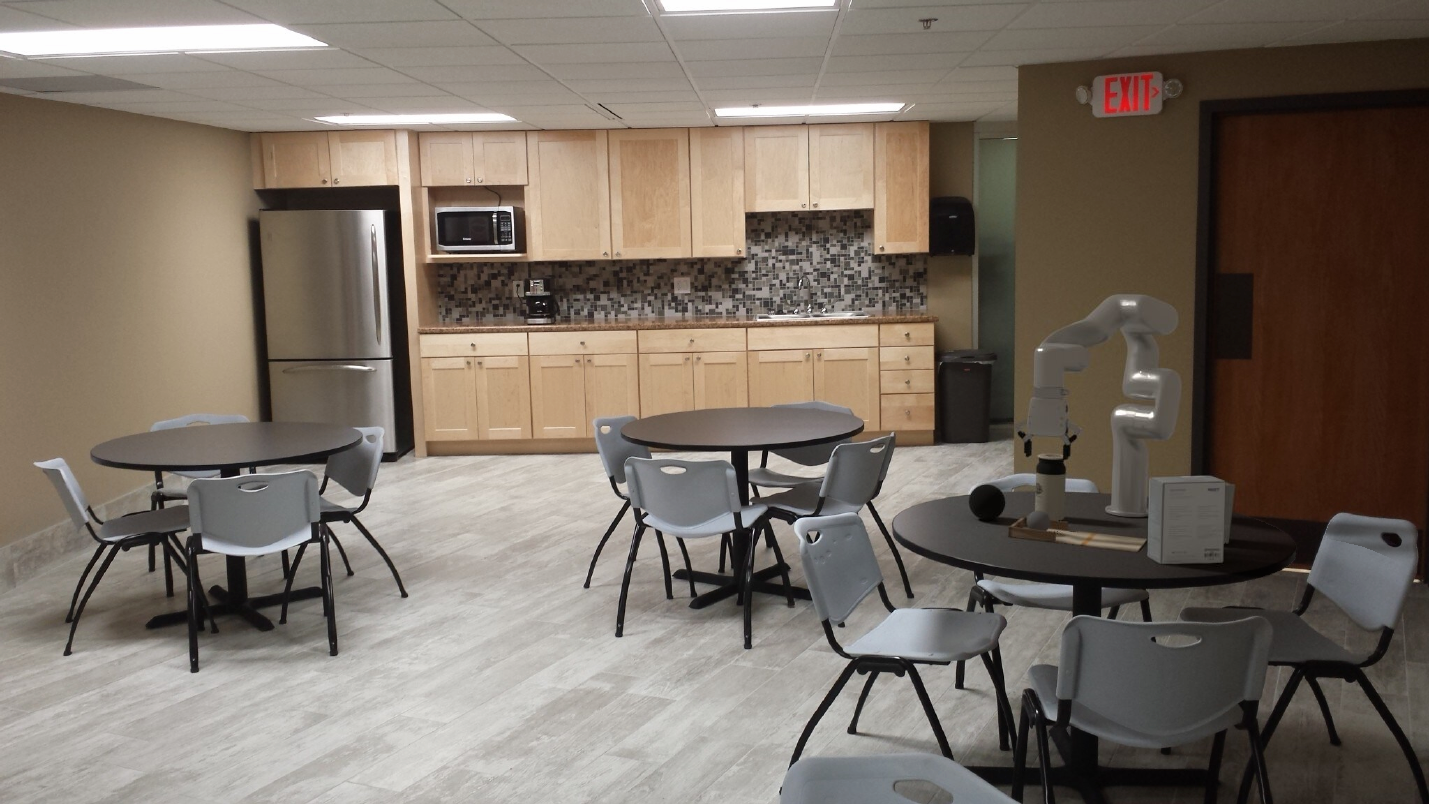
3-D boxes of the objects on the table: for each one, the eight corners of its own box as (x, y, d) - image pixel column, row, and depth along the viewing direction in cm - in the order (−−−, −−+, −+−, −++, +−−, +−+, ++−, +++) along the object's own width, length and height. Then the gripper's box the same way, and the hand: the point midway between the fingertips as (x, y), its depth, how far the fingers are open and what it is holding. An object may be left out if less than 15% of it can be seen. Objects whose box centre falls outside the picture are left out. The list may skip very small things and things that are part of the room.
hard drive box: (1208, 555, 263) (1212, 475, 260) (1224, 563, 255) (1228, 481, 253) (1145, 556, 262) (1149, 476, 260) (1159, 564, 254) (1163, 482, 252)
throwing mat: (1022, 526, 294) (1023, 516, 294) (1146, 540, 278) (1147, 530, 277) (1008, 536, 282) (1008, 527, 282) (1137, 552, 266) (1137, 542, 266)
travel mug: (1060, 515, 307) (1062, 453, 305) (1067, 521, 299) (1069, 458, 297) (1032, 515, 308) (1034, 453, 305) (1037, 521, 300) (1039, 457, 298)
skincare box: (1185, 538, 279) (1188, 478, 277) (1207, 536, 282) (1210, 476, 280) (1211, 546, 271) (1214, 484, 270) (1232, 543, 274) (1236, 482, 272)
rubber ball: (1030, 529, 289) (1030, 507, 288) (1052, 531, 286) (1053, 509, 285) (1024, 534, 284) (1024, 512, 283) (1047, 536, 281) (1047, 514, 280)
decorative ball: (996, 525, 295) (997, 489, 294) (962, 520, 301) (963, 485, 300) (1010, 518, 303) (1011, 483, 302) (977, 514, 309) (977, 480, 308)
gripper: (1085, 393, 279) (1084, 458, 282) (1019, 390, 288) (1018, 453, 291) (1078, 396, 273) (1077, 462, 275) (1011, 393, 282) (1010, 457, 284)
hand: (1046, 457), depth 283 cm, fingers open, 9 cm apart
